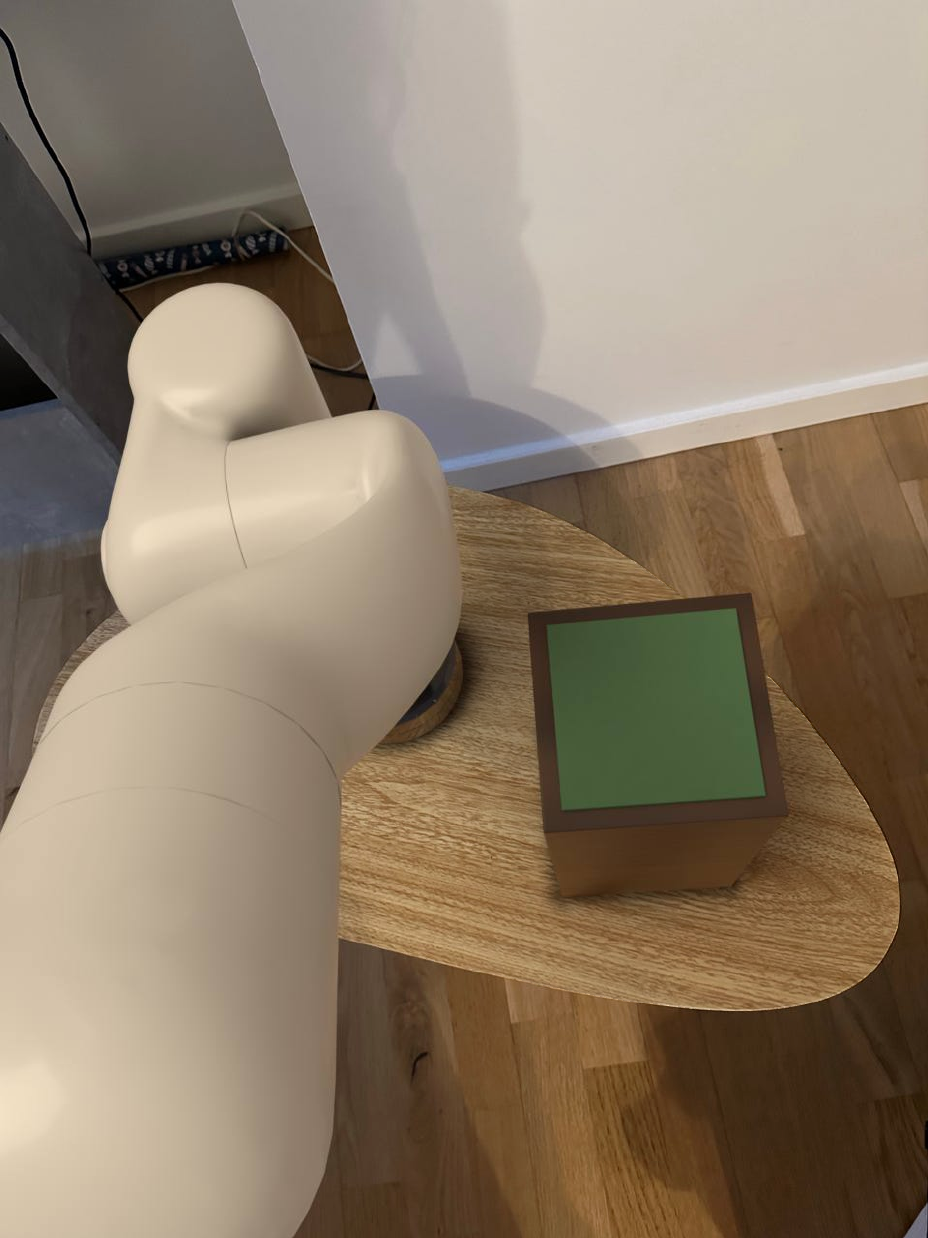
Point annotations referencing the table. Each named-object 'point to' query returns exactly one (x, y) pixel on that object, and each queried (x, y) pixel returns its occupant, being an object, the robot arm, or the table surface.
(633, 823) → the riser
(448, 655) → the bowl
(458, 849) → the table surface
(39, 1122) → the robot arm
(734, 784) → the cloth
